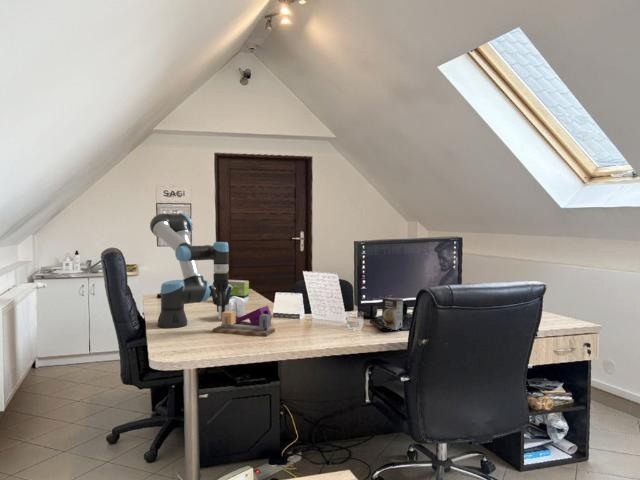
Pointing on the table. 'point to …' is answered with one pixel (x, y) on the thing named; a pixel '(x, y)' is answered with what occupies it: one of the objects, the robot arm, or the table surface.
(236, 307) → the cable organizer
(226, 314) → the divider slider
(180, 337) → the table surface
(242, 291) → the tea box
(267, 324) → the rail and fixed leg
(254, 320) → the mounting bracket
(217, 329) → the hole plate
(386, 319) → the coffee box
